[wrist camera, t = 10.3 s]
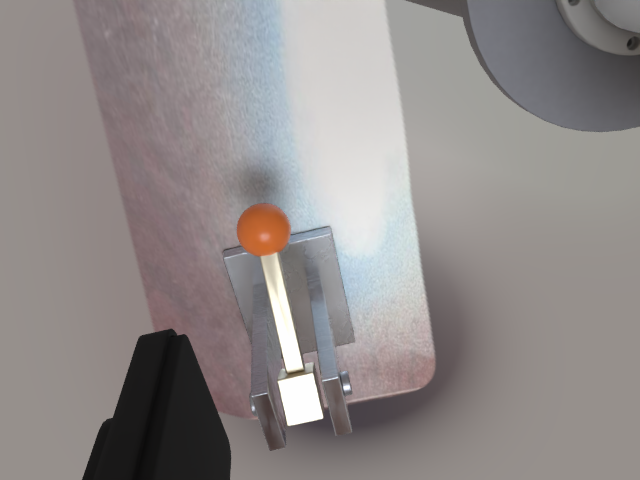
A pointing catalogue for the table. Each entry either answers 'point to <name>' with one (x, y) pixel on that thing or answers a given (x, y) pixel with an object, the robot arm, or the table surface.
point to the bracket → (311, 323)
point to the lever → (282, 311)
